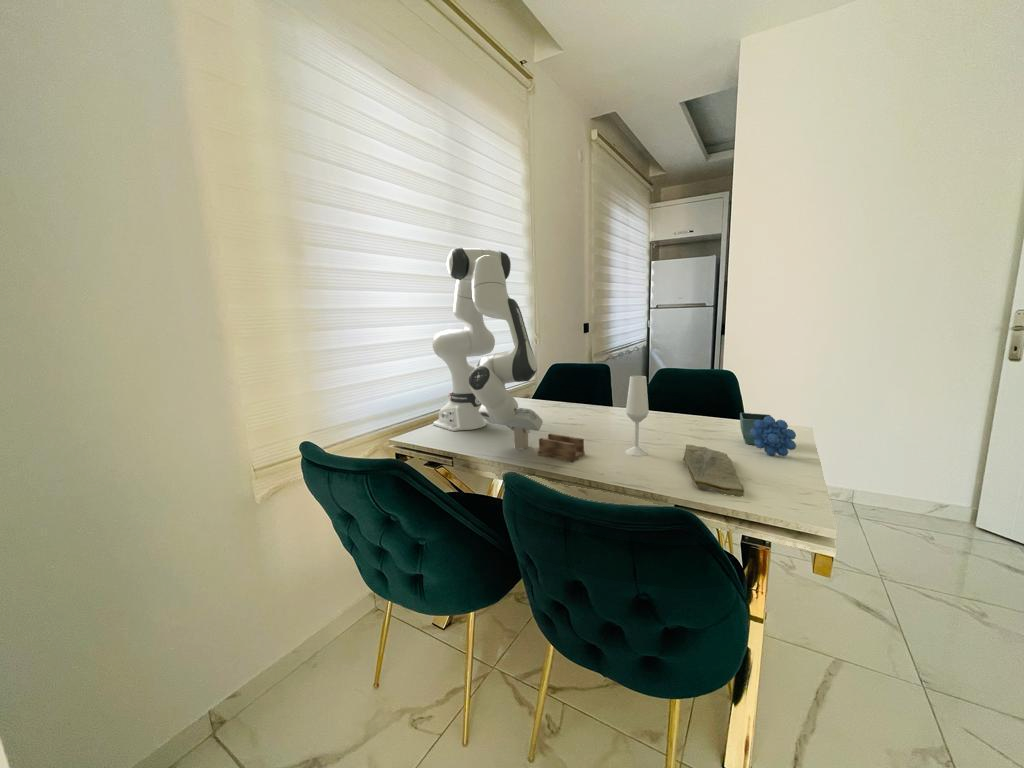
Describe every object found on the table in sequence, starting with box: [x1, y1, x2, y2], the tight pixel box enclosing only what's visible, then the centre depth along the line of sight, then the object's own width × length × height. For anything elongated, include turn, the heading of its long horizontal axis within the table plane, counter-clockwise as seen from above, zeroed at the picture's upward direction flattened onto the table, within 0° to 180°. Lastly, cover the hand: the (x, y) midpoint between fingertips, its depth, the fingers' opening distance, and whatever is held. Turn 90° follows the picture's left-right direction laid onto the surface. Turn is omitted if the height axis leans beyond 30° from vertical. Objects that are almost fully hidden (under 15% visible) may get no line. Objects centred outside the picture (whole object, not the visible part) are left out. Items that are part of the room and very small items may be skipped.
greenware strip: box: [513, 427, 529, 450], centre depth 131 cm, size 4×3×10 cm
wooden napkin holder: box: [537, 433, 585, 463], centre depth 123 cm, size 12×8×5 cm, turn 55°
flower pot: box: [739, 412, 772, 446], centre depth 128 cm, size 9×9×9 cm
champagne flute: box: [625, 375, 650, 457], centre depth 121 cm, size 7×7×24 cm
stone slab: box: [682, 444, 745, 497], centre depth 107 cm, size 12×4×30 cm
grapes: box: [750, 416, 797, 457], centre depth 115 cm, size 12×7×12 cm, turn 59°
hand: (521, 430), depth 131 cm, fingers closed on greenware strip, 3 cm apart
